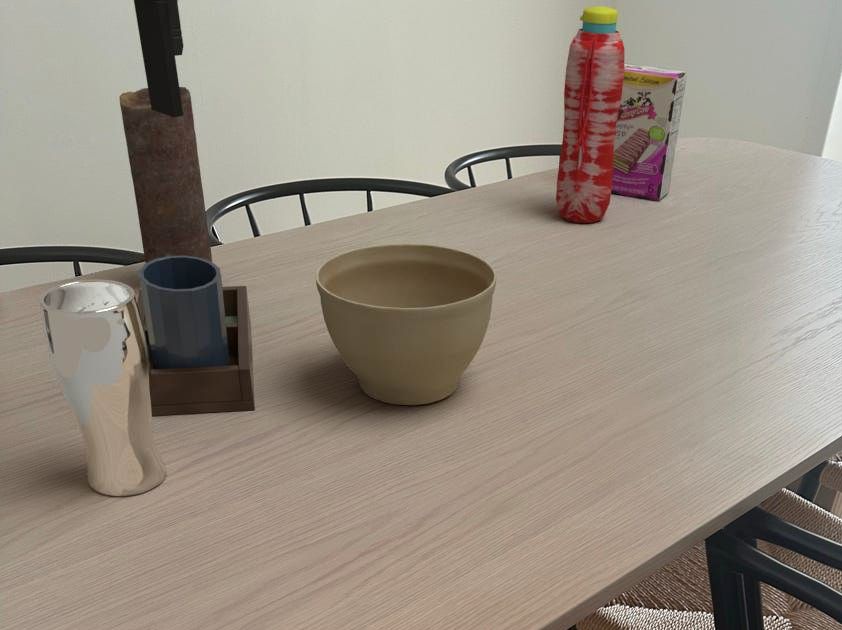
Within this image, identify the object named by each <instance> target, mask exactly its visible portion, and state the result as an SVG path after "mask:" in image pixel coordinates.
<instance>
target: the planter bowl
mask: <svg viewBox="0 0 842 630" xmlns="http://www.w3.org/2000/svg"><path fill="white" fill-rule="evenodd" d="M314 277H315V285H316V289H317V291H318V294H319V297H320V298H319V299H320V305H321V311H322V315H323V320H324V322H325V326H326V329H327V332H328V335H329V337H330V339H331V341H332V343H333V345H334V347H335V349H336V350H337V352H338V354H339V355H340V357H341V358H342V360H343V361H344V363H345V364H346V366H348V368H349V369H350V370H351V371H352V373H354V374H355V375H356V376H357V378H358V382H359V383H358V384H359V386H360V388H361V391H363V392H364V393H365V394H366V395H367V396H368V397H370V398H372V399H375V400H376V401H379V402H382V403H386V404H390V405H397V406H419V405H420V406H421V405H428V404H431V403H435V402H439V401H442V400H443V399H445V398H448V397H449V396H451V395H452V394H453V393H454V392H455V391H456V390H457V389H458V388H459V383H460V379H461V376H462V375H463V373H464V372H465V371H466V370H467V368H468V367H469V366H470V364H471V363H472V362H473V360H474V359H475V357H476V355H477V353H478V352H479V350H480V347H481V345H482V343H483V341H484V338H485V336H486V334H487V331H488V327H489V325H490V324H489V323H490V319H491V316H492V315H491V314H492V313H491V312H492V308H493V298H494V297H493V296H494V293H495V290H496V286H497V273H496V269H494V267H493V265H491V264H490V263H489V262H488V261H487V260H485V259H484V258H482V257H480V256H478V255H477V254H474V253H472V252H469V251H466V250H462V249H459V248H455V247H450V246H444V245H441V244H440V245H439V244H433V243H432V244H431V243H417V242H416V243H413V242H397V243H386V244H385V243H384V244H374V245H367V246H361V247H355V248H352V249H349V250H345V251H342V252H340V253H337V254H335V255H332V256H331V257H329V258H327V259H326V260H325V261H323V262H322V263H321V264H320V265H319V266H318V267H317V269H316V272H315V275H314Z"/></svg>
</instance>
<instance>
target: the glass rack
mask: <svg viewBox="0 0 842 630" xmlns="http://www.w3.org/2000/svg"><path fill="white" fill-rule="evenodd" d="M222 289H223V300H224V310H225V321H226V331H227V341H228V352H229V362H230V366H215V367H195V368H176V369H156V370H154V368H153V362H152V356H151V349H150V343H149V336H148V330H147V324H146V317H145V311H144V304H143V298H142V292H141V289H139V290H138V295H137V300H136V302H137V305H138V309H139V312H140V315H141V319H142V323H143V327H144V331H145V335H146V339H147V344H148V350H149V356H150V362H151V378H152V417H158V416H174V415H191V414H209V413H224V412H227V413H228V412H244V411H255V410H256V407H255V405H256V404H255V403H256V402H255V383H254V362H253V361H254V360H253V359H254V358H253V342H252V341H253V340H252V322H251V313H250V305H249V304H250V303H249V297H248V287H247V285H237V286H236V285H231V286H230V285H229V286H222Z"/></svg>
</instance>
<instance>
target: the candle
mask: <svg viewBox="0 0 842 630" xmlns="http://www.w3.org/2000/svg"><path fill="white" fill-rule="evenodd" d="M179 88H180V95H181V102H182V109H183V116H179V117H171V116H168V115H165V114H162V113H159V112H156V111H153V110H151V103H150V97H149V91H148V87H143V88H141V89H138V90H136V91H126V92H122V93H121V94H120V95H119V105H120V106H119V107H120V112H121V119H122V126H123V132H124V138H125V143H126V148H127V149H126V150H127V156H128V162H129V168H130V174H131V180H132V185H133V191H134V199H135V203H136V210H137V218H138V224H139V230H140V236H141V244H142V250H143V258H144V264H146V263H148V262H150V261H152V260H154V259H157V258H162V257H167V256H184V255H185V256H192V257H199V258H203V259H205V260H208V261H211V262H213V256H212V246H211V240H210V234H209V226H208V219H207V218H208V217H207V212H206V204H205V196H204V189H203V182H202V175H201V166H200V159H199V154H198V153H199V152H198V142H197V134H196V130H195V119H194V118H195V117H194V112H193V104H192V96H191V91H190V90H189V89H188V88H186V87H185V86H179Z"/></svg>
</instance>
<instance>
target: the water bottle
mask: <svg viewBox="0 0 842 630" xmlns="http://www.w3.org/2000/svg"><path fill="white" fill-rule="evenodd" d="M618 15H619V11H618V10H617V9H615V8H613V7H609V6H604V5H595V6H589V7H585V8H584V9H583V11H582V15H581V16H580V17H579V21H582V27H581V28H578V30H577V33H576V35H575V36H574V37H573V38H572V41H571V43H570V45H569V49H568V50H569V51H568V55H567V61H566V66H565V76H564V90H563V132H562V142H561V149H560V157H559V162H558V170H557V178H556V192H555V196H556V197H555V201H556V205H557V211H558V213H559V215H560V217H561V218H563V219H565V220H566V221H569V222H572V223H576V224H577V223H578V224H591V223H595V222H599V221H600V220H602V219H603V218H604V216H605V215H606V213H607V210H608V208H609V206H610V203H611V197H612V193H611V189H612V179H613V157H614V140H615V132H616V123H617V121H618V120H619V118H620V117H621V116H622V114H623V113H624V112H623V111H622V110H621V108H620V102H621V97H622V88H623V79H624V63H625V46H624V45H625V44H624V42H623V39H622V38H621V34H620V31H618V30H616V29H617V23H618Z"/></svg>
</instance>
